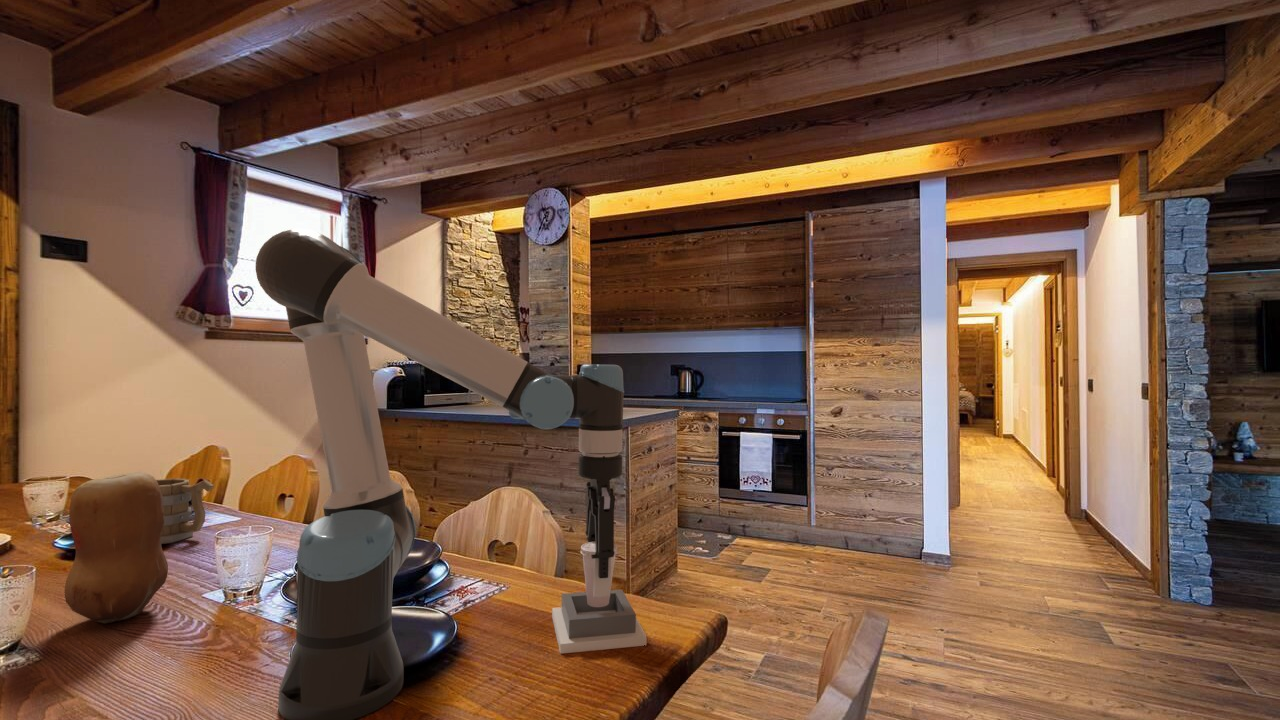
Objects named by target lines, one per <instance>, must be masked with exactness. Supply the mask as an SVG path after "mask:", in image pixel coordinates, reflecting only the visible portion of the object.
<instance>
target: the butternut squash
mask: <svg viewBox="0 0 1280 720" xmlns="http://www.w3.org/2000/svg"><path fill="white" fill-rule="evenodd" d="M156 480H157V479H156V478H155V477H154V476H152V475H151V474H149V473H146V472H142V471H141V472H140V471H138V472H137V471H136V472H129V473H123V474H122V473H121V474H114V475H110V476H106V477H103V478H95V479H90V480H88V481H85V482H84V483H81V484H80V485H79V486H77V487H76V488H75V489H74V490H73V493H72V494H71V497H70V503H69V507H68V508H69V510H68V511H69V513H68V523H69V527H70V530H71V537H72V539H73V544H74V549H75V557H74V560H73V562H72V563H73V564H72V565H71V567H70V569H69V572H68V574H67V576H66V577H67V578H66V580H65V585H64V599H65V602H66V604H67V605H68V606H69V608H70V609H71V611H73V612H74V613H76V614H77V615H78V614H79V615H81V616H82V617H85V619H86V618H87V619H89V620H91V621H94V622H96V623H102V624H103V625H104V624H110V623H113V622H117V621H118V622H119V621H123V620H125V621H126V620H128V619H130V618H132V617H135V616H137V615H138V614H141V612H143V610H144V609H145V608H146V607H147V605H148V604H149V602H150V601H151V600H152V598H153V597H154V595H155V594H156V593H157V592H158V591H159V590H160V589H161V588H162V587H163V585H165V583H166V580H167V578H168V574H169V564H168V560H167V557H166V556H165V555H166V554H165V553H164V551H163V548H162V544H161V532H162V528H163V524H164V512H163V506H162V496H161V491H160V487H159V485H158V482H157V481H156Z"/></svg>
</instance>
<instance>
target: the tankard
mask: <svg viewBox="0 0 1280 720" xmlns="http://www.w3.org/2000/svg"><path fill="white" fill-rule="evenodd" d="M156 481H157V482H158V485H159V487H160V491H161V496H162V506H163V512H164V524H163V528H162V532H161V545H164V544H166V545H167V544H174V543H177V542H179V541H183V540H186V539H189V538H192V537H193V536H194V533H195V532H199V531H201V530H202V528H203V525H204V523H205V522H206V509H205V507H204V504H203V495H202V494H203V493H202V491H203V490H205V491H206V492H211V491H213V489H214V488H215V485H214V484H213V483H212V482H210V481H209V480H208V479H204V480H202V481H200V482H198V483H195V484H192V485H191V484H190V479H189V478H163V479H162V478H161V479H156ZM189 502H191V506H192V507H191V506H189ZM192 509H193V511H192ZM193 513H194V521H193V523H189V521H190V520H191V517H192V514H193Z"/></svg>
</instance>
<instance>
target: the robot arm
mask: <svg viewBox="0 0 1280 720" xmlns="http://www.w3.org/2000/svg"><path fill="white" fill-rule="evenodd" d="M255 274H256V275H255V276H256V279H257V282H258V283H259V285H260V287H261V288H262V290H263V291H264V293H265V294H266V295H267V296H268V297H269V298H270V299H271V300H273V301H274V302H275V303H277V304H278V305H280V306H283V307H285V310H286V315H287V321H288V326H289V332H290V333H291V334H292V335H294V336H296V337H297V338H299V339H301V341H302V342H303V344H304V350H305V356H306V362H307V367H308V371H309V377H310V382H311V387H312V392H313V394H312V395H313V399H314V403H315V404H314V405H315V409H316V410H315V411H316V415H317V420H318V425H319V431H320V435H321V436H320V437H321V441H322V446H323V452H324V457H325V464H326V468H327V476H328V480H329V485H330V493H329V496H328V498H327V499H326V500H325V501H324V502H323V504H322V508H323V513H324V516H321V517H319V518H317V519H315V520H313V521H312V522H311V523H309V524H308V525H307V526H306V527H305V528H304V530H303V531H302V532H301V534H300V538H299V544H298V545H299V546H298V548H297V553H296V562H297V563H296V564H297V570H298V583H297V582H296V584H297V586H296V587H297V591H296V592H297V593H296V629H295V630H296V633H295V646H294V648H293V650H292V654H291V656H290V658H289V662H288V664H287V667H286V670H285V673H284V675H283V677H282V680H281V683H280V685H279V690H278V701H277V702H278V705H277V707H278V713H279V714H280V716H281V717H282V718H283V719H285V720H356V719H359V718H362V717H365V716H367V715H369V714H371V713H373V712H375V711H377V710H379V709H381V708H383V707H384V706H386V705H387V704H389V703H390V702H391V701H392V700H394V699H395V697H396V696H397V695H398V694H399V693H400V692H401V691H402V689H403V686H404V673H405V670H404V669H405V668H404V662H403V658H402V656H401V652H400V650H399V647H398V644H397V641H396V638H395V634H394V632H393V629H392V625H393V624H392V623H393V622H392V621H393V620H392V616H393V615H392V614H393V584H394V578H395V576H396V575H397V573H398V571H399V570H400V569H401V567H402V565H403V564H404V562H405V561H406V559H407V558H408V556H409V555H410V553H411V551H412V549H413V546H414V544H415V538H416V522H415V518H414V514H413V513H412V511H411V509H409V507H408V506H407V505H406V501H405V494H404V491H403V489H404V488H403V486H402V484H400V483H398V482H396V481H395V480H393V479H392V478H391V475H390V470H389V469H390V468H389V463H388V459H387V453H386V447H385V443H384V437H383V430H382V425H381V420H380V415H379V409H378V404H377V403H378V402H377V398H376V392H375V389H374V388H375V387H374V386H375V385H374V381H373V377H372V371H371V365H370V360H369V354H368V349H367V344H366V339H365V336H367V337H368V338H370V339H371V340H374V341H376V342H378V343H380V344H382V345H383V346H386V347H387V348H389V349H391V350H393V351H395V352H397V353H399V354H401V355H402V356H405V357H406V358H409V359H410V360H412V361H414V362H416V363H418V364H420V365H422V366H423V367H425V368H427V369H429V370H431V371H433V372H435V373H437V374H439V375H441V376H442V377H444V378H447V379H449V380H450V381H453V382H454V383H456V384H458V385H460V386H462V387H464V388H466V389H468V390H470V391H471V392H473V393H475V394H477V395H478V396H481V397H483V398H484V399H487V400H488V401H491V402H493V403H495V404H496V405H498V406H500V407H501V408H504V409H506V410H507V411H508V415H509V417H510V418H511V419H515V420H524V421H526V422H527V423H528V424H530V425H531V426H533V427H535V428H537V429H540V430H552V429H556V428H558V427H560V426H562V425H563V424H565V422H567V421H568V420H577V419H578V420H579V428H578V451H579V452H580V453H581V454H580V455H579V456H578V475H579V476H580V477H581V478H584V479H586V480H590V481H587V482H586V518H585V519H586V521H585V522H586V523H585V536H586V540H587V543H588V542H594V541H595V545H596V553H595V555H591V557H592V559H594V589H593V596H594V597H603V596H610V579H611V557H614V544H615V538H614V537H615V502H616V498H615V495H614V489H613V488H611V483H610V482H611V480H612V479H617V478H620V477H621V476H622V475H623V456H622V454H620V453H621V452H622V451H623V440H625V439H626V436H627V435H626V434H625V433H623V424H624V423H623V422H624V397H625V396H624V394H625V390H624V372H623V369H622V367H621V366H620V365H617V364H593V363H592V364H591V363H590V364H587V363H583V364H582V365H581V366H580V370H579V372H578V373H579V374H575V375H574V374H571V375H560V374H558V375H557V374H550V372H547V371H545V370H543V369H541V368H540V367H538V366H536V365H533V364H531V363H530V362H528V361H527V360H525V359H524V358H521V357H519V356H518V355H516V354H514V353H512V352H510V351H508V350H507V349H505V348H503V347H501V346H499V345H497V344H495V342H492V341H491V340H489V339H487V338H484V337H483V336H481V335H479V334H477V333H475V332H474V331H472V330H471V329H468V328H466V327H465V326H463V325H462V324H459V323H457V322H455V321H453V320H451V319H450V318H448V317H446V316H445V315H442V314H441V313H439V312H437V311H435V310H434V309H431V308H430V307H428V306H426V305H425V304H422V303H420V302H419V301H417V300H415V299H413V298H412V297H410V296H407V295H406V294H404V293H402V292H401V291H399V290H397V289H395V288H393V287H391V286H389V285H387V284H386V283H384V282H382V281H380V280H379V279H377V278H375V277H373V276H371V275H370V273H369V270H368V267H367V265H366V264H364V263H363V262H362V260H361V259H360V258H359V257H358V256H357V255H356V254H355V253H353V252H352V251H351V250H349V249H348V248H345V247H344V246H341V245H339V244H337V243H336V242H335V241H333V240H332V239H331V238H329V236H328V237H327V236H326V235H324V234H321V233H319V232H317V231H314V230H310V229H303V228H301V229H300V228H295V229H294V228H293V229H288V230H284V231H281V232H279V233H276V234H274V235H272V236H271V237H270V238H269V239H268V240H266V241H265V242H264V244H262V245H261V247H260V248H259V250H258V253H257V256H256V259H255Z"/></svg>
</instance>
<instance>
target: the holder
mask: <svg viewBox="0 0 1280 720" xmlns="http://www.w3.org/2000/svg"><path fill="white" fill-rule="evenodd" d="M551 617H552V622H553V627H554V632H555V636H556V640H557V645H558V649H559V653H560V654H561V655H562V654H569V653H570V654H571V653H572V654H573V653H580V652H581V653H582V652H592V651H604V650H610V649H611V650H612V649H622V648H632V647H643V646H644V645H645V646H647V640H648V639H647V634H646V632H645V631H644V629H643V627H642V625H641V623H640V621H639V620H638V618H637V614H636V611H635V610H634V609H633V606H632V605H631V603H630V602H629V600H628V597H627V596H626V594H625V593H624V591H623V589H621V588H620V589H611V591H610V599H609V604H608V605H607V606H604V607H592V606H589V605H588V603H587V594H586V591H584V592H583V591H582V592H581V591H580V592H571V593H570V592H569V593H566V592H565V593H561V606H559V607H558V606H557V607H552V608H551ZM645 646H644V647H645Z"/></svg>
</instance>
